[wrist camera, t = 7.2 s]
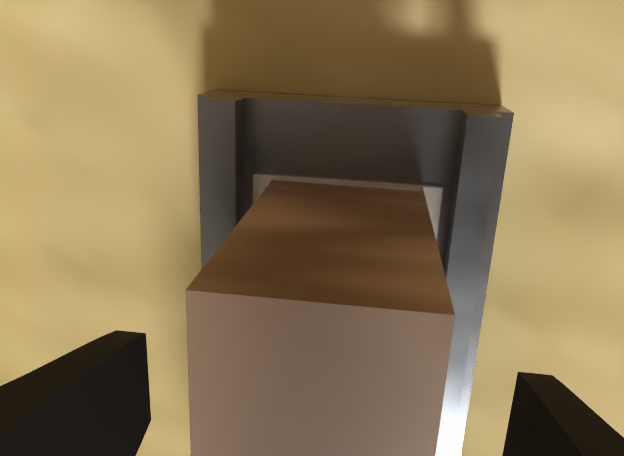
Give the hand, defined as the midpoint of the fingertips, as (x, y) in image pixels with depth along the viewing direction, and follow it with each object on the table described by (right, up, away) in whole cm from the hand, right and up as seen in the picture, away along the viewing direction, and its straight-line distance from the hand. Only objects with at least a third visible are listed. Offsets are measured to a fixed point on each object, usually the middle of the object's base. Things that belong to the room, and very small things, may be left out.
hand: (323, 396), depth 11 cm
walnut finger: (+1, +2, +5) cm, 5 cm away
